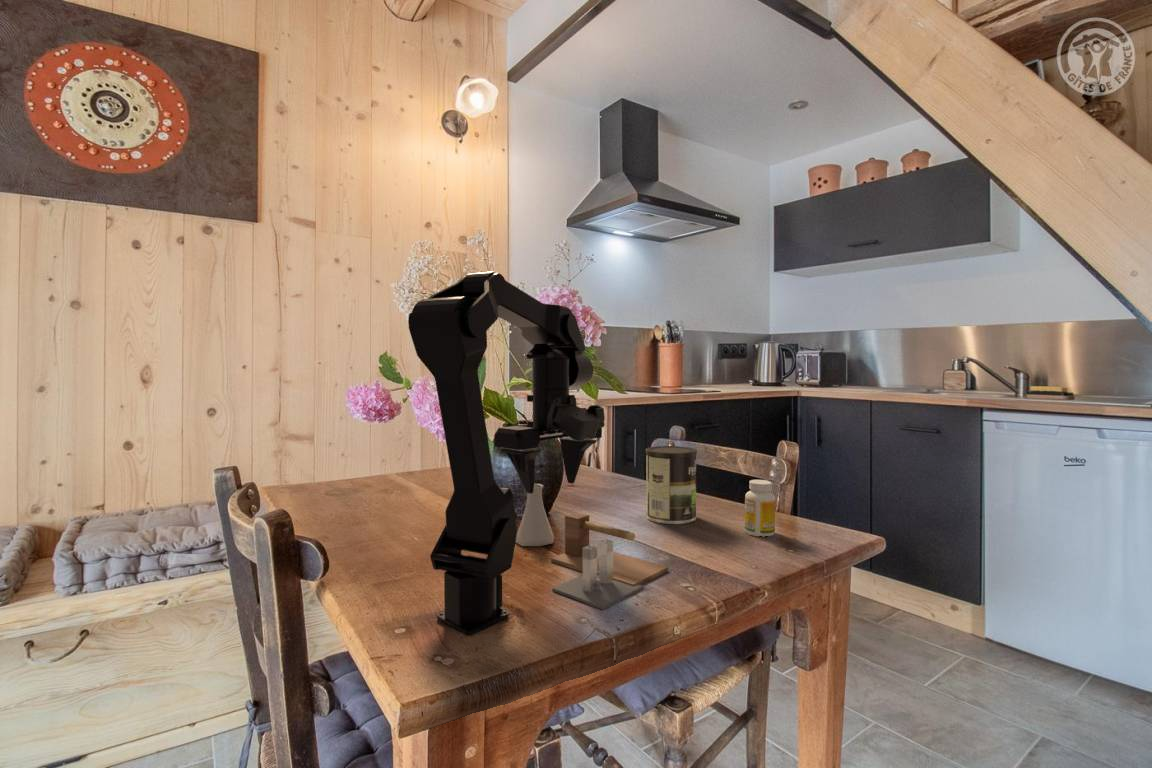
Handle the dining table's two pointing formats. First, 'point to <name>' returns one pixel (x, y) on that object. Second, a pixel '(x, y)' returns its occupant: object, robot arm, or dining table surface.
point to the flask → (534, 522)
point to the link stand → (623, 565)
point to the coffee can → (671, 484)
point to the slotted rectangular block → (590, 555)
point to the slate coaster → (597, 592)
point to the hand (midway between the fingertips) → (551, 487)
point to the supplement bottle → (760, 509)
